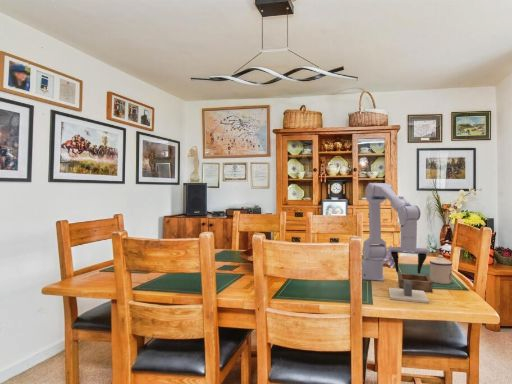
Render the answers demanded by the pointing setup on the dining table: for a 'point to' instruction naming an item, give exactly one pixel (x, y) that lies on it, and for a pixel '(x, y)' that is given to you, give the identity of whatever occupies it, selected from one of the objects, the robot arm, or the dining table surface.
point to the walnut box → (416, 282)
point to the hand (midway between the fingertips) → (407, 272)
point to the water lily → (388, 258)
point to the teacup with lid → (440, 270)
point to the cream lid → (408, 294)
